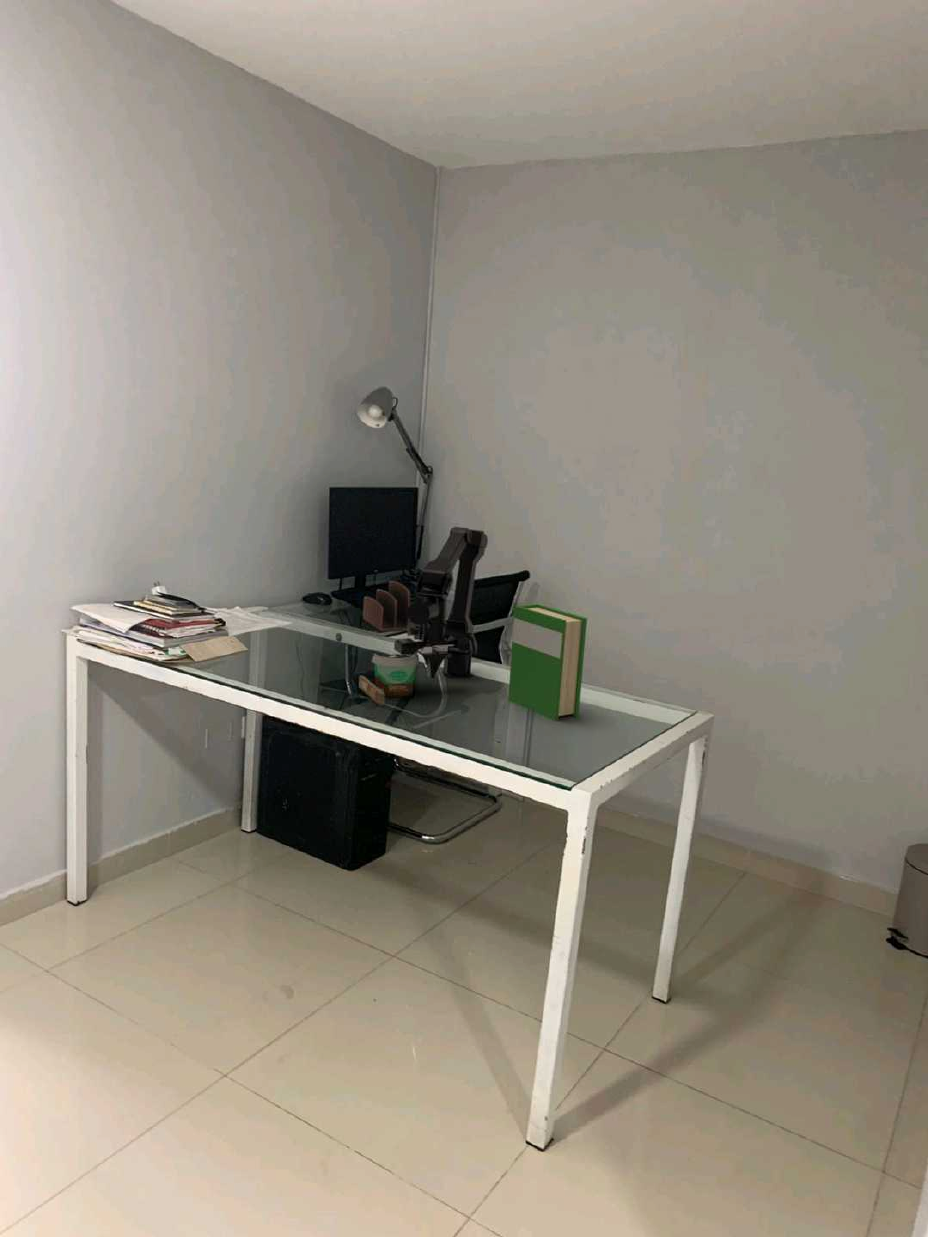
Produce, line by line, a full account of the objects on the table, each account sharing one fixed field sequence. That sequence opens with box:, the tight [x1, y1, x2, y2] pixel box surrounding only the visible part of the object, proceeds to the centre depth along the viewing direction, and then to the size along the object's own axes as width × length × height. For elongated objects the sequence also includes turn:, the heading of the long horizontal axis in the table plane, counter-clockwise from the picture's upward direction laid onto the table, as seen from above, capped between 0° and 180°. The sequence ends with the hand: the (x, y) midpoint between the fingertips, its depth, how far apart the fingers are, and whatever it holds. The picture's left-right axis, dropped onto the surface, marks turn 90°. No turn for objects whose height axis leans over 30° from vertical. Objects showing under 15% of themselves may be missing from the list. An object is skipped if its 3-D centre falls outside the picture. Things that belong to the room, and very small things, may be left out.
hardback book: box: [507, 603, 588, 722], centre depth 224 cm, size 18×7×24 cm, turn 36°
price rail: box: [358, 675, 386, 707], centre depth 227 cm, size 1×16×3 cm, turn 25°
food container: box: [371, 652, 420, 698], centre depth 230 cm, size 12×6×10 cm, turn 118°
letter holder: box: [362, 580, 411, 633], centre depth 306 cm, size 10×20×14 cm, turn 24°
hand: (431, 678), depth 234 cm, fingers closed
